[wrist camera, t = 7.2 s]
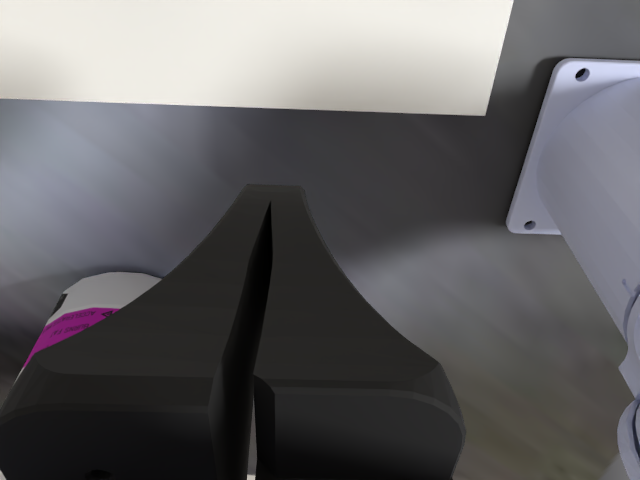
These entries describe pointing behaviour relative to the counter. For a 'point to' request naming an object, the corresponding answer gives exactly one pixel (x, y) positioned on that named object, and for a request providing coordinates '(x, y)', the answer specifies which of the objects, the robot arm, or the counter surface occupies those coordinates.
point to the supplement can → (90, 306)
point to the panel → (256, 53)
